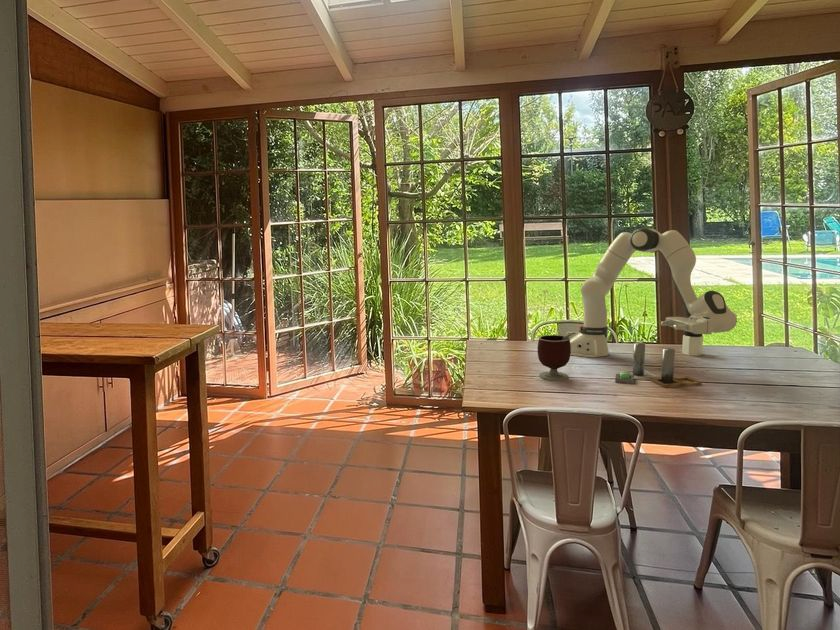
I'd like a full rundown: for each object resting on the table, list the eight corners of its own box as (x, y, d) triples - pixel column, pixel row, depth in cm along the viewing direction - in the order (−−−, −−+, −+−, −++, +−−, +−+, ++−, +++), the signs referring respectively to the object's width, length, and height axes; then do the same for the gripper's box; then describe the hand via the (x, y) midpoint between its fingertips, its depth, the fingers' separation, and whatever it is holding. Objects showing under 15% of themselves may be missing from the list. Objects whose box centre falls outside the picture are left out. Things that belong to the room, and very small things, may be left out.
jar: (686, 351, 269) (688, 327, 267) (704, 353, 263) (705, 329, 261) (679, 354, 263) (681, 330, 261) (697, 357, 257) (698, 332, 255)
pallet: (663, 390, 207) (663, 385, 207) (650, 384, 216) (650, 378, 216) (701, 387, 209) (701, 382, 209) (687, 381, 218) (687, 376, 218)
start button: (619, 383, 216) (619, 374, 216) (619, 380, 220) (620, 371, 219) (629, 384, 215) (630, 375, 214) (630, 381, 219) (630, 372, 218)
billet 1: (632, 376, 225) (633, 344, 223) (632, 374, 229) (634, 342, 227) (643, 377, 223) (645, 344, 221) (643, 374, 227) (645, 342, 225)
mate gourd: (534, 379, 227) (535, 333, 223) (539, 371, 239) (540, 327, 236) (572, 382, 221) (573, 335, 218) (575, 373, 234) (576, 329, 231)
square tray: (632, 381, 220) (632, 378, 220) (619, 374, 231) (619, 371, 231) (657, 379, 221) (657, 376, 221) (643, 372, 232) (643, 369, 232)
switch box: (615, 385, 216) (615, 378, 215) (615, 380, 222) (616, 373, 222) (633, 386, 213) (633, 379, 213) (634, 382, 219) (634, 374, 219)
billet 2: (661, 384, 211) (662, 350, 208) (660, 381, 215) (662, 347, 212) (673, 385, 209) (675, 350, 207) (672, 382, 213) (674, 348, 211)
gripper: (683, 312, 235) (654, 314, 234) (714, 319, 215) (682, 321, 214) (683, 326, 236) (653, 328, 235) (714, 335, 216) (682, 337, 215)
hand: (668, 325), depth 224 cm, fingers open, 8 cm apart
